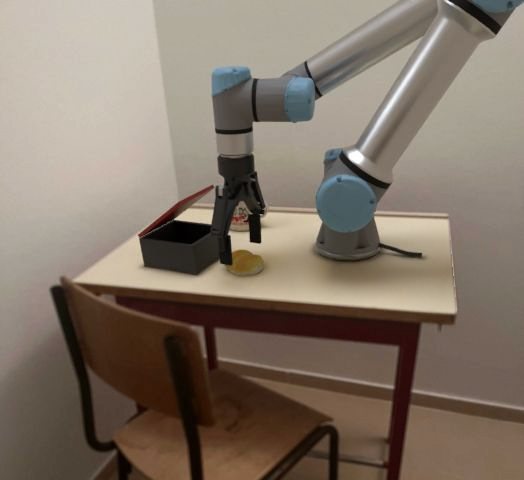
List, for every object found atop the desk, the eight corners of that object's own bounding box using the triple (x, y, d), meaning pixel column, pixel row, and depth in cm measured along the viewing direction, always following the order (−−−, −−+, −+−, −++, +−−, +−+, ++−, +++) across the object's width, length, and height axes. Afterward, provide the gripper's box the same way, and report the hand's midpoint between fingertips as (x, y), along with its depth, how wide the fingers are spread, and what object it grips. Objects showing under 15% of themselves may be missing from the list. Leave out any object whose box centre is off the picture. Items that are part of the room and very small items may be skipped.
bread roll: (244, 280, 112) (243, 263, 110) (219, 269, 118) (218, 252, 116) (272, 268, 117) (271, 252, 115) (247, 258, 123) (246, 242, 121)
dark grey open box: (227, 253, 126) (224, 225, 123) (196, 275, 116) (192, 246, 112) (177, 245, 132) (173, 219, 129) (144, 266, 122) (138, 238, 118)
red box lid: (214, 187, 118) (212, 184, 118) (180, 205, 108) (178, 201, 108) (174, 219, 128) (172, 216, 128) (139, 238, 118) (137, 235, 118)
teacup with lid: (222, 230, 140) (218, 187, 134) (232, 219, 147) (229, 178, 141) (264, 232, 137) (262, 188, 131) (273, 221, 144) (271, 179, 138)
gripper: (248, 140, 115) (252, 232, 126) (185, 166, 96) (197, 271, 108) (278, 142, 112) (280, 236, 123) (219, 169, 93) (228, 277, 105)
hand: (241, 253), depth 116 cm, fingers open, 13 cm apart
